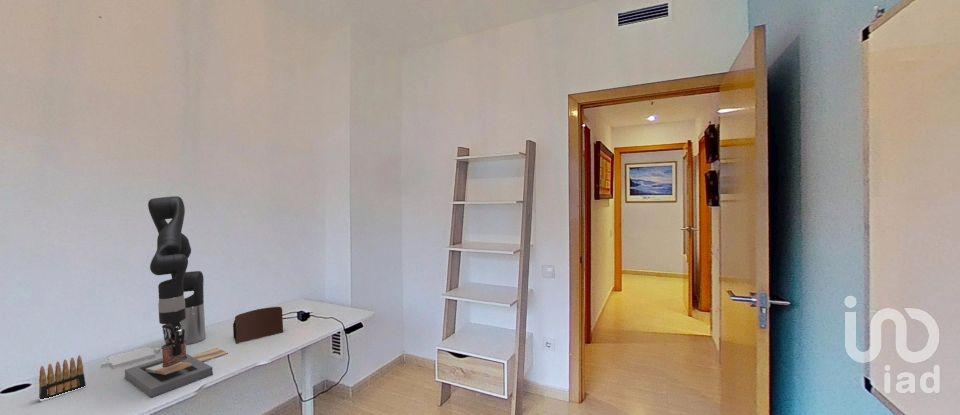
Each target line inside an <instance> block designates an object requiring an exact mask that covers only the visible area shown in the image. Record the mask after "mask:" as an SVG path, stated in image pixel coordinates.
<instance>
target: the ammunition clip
mask: <svg viewBox="0 0 960 415" xmlns="http://www.w3.org/2000/svg"><path fill="white" fill-rule="evenodd" d="M76 362H77V363H76ZM47 366H48V367H47V374H46V369H45V367H44V366H43V365H41V366H40V369H39V379H38V381H39V382H38V383H39V386H38V388H39V394H38V395H39V396H38V398H40V399H44V398H49V397H53V396H56V395H59V394H62V393H65V392H68V391H72V390H75V389H78V388H81V387H84V386H87V384H86V379H85V378H86V377H85V372H84V371H85V370H84V365H83V359H82V357H81V355H78V356H77V359H76V361H75V359H74V357H71V358H70V361H69V365H68V361H67V359H66V358H65V359H63V363H62V369H61V364H60V362H59V361H56V364H55V367H53V365H52V364H51V363H49V364H48V365H47ZM54 368H55V371H54ZM84 388H85V387H84ZM81 389H82V388H81Z"/></svg>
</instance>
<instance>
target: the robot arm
mask: <svg viewBox="0 0 960 415" xmlns="http://www.w3.org/2000/svg"><path fill="white" fill-rule="evenodd" d="M147 203H148V204H147V207H148V211H149V214H150V215H149V216H151V219H152V221H153V223H154V226H155V228H156V230H157V233H158V236H157V240H156V242H157V243H156V246H157V247H156V252H155V254H154V256H153V257H152V259H151V262H150V266H149V271H151V273H152V274H154V275H155V276H163V275H164V276H166V275H170V276H171V278H170V279H166V280H164V281H161V282H160V283H159V284H158V285H157V288H158V290H157V291H158V303H157V304H158V305H157V308H158V321H159V324H161V325H162V332H163V333H162V334H163V338H164V341H165V340H166V339H168V338H170V340H171V341H172V346H173V356H178V355H180V354H181V344H183V343H184V338H185V339H186V341H185V342H186V345H191V344H195V343H199V342H202V341H204V340H206V322H205V321H206V320H205V304H204V303H205V302H204V282H205V281H204V274H203V272H202V271H201V270H194V271H193V270H192V271H187V268H188V266H189V258H190V257H191V256H190V255H191V254H192V248H191V244H190V241H189V238H188V236H186V235H185V234H184V233H182V230H183V224H184V220H185V213H186V212H185V210H186V207H185V203H184V200H183V199H182V197H181V196H179V195H178V196H175V195H174V196H165V197H164V196H163V197H153V198H150V199H149V200H148V202H147ZM167 220H170V221H169V222H168V221H167ZM186 292H193V294H191V295H189V296H187V297H185V294H184V293H186ZM174 336H175V337H174ZM173 337H174V338H173ZM178 340H179V341H178ZM177 341H178V342H177Z"/></svg>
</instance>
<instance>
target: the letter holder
mask: <svg viewBox="0 0 960 415" xmlns="http://www.w3.org/2000/svg"><path fill="white" fill-rule="evenodd" d="M234 317H235V318H234V321H233V323H232V331H233V339H234V341H235V344H241V343H244V342H248V341H254V340H258V339H261V338H265V337H269V336H275V335H277V334H282V333H284V324H283V322H284V321H283V320H284V319H283V308H282V306H270V307H264V308H258V309H254V310H249V311H246V312H243V313H238V314H236V315H235V316H234Z"/></svg>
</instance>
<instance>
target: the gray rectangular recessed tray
mask: <svg viewBox="0 0 960 415" xmlns="http://www.w3.org/2000/svg"><path fill="white" fill-rule="evenodd" d="M186 356H187V359H185V360H183V361H181V362H188V363H192V366H189V367H186V368H183V369H181V370H178V371H175V372H172V373H169V374H166V375H163V374H158V373H152V372H147V371H146V368H149V367H153V366H156V365H159V364H162V363H163V357H161V358H158V359H155V360H152V361H148V362H145V363H142V364H139V365H136V366H132V367H130V368H126V369H124V370H123V371H124V378H125V379H126V380H127V381H129V382H130V383H132V384H133V385H134V386H135V387H137V388H138V389H139V390H141V391H142V392H143V393H144V394H146V395H147V396H149V397H150V398H155V397H157V396H160V395H163V394H165V393H168V392H171V391H173V390H177V389H179V388H181V387H184V386H187V385H189V384H192V383H194V382H197V381H200V380H203V379H205V378H207V377H211V376H213V375H214V374H213V372H214V371H213V366H211V365H209V364H207V363H205V362H201V361H199V360H197V359H195V358H193V357H191V356H192V355H189V354H187V353H186Z"/></svg>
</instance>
